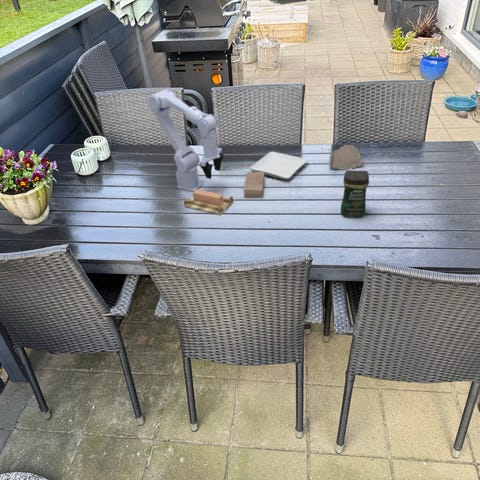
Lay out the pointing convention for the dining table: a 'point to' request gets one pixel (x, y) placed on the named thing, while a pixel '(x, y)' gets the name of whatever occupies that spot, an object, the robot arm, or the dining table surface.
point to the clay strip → (208, 197)
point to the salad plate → (278, 165)
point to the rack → (209, 206)
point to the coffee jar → (354, 193)
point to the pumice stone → (346, 158)
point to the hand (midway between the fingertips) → (213, 174)
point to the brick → (254, 185)
